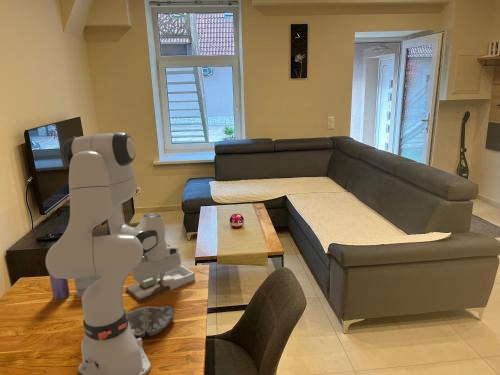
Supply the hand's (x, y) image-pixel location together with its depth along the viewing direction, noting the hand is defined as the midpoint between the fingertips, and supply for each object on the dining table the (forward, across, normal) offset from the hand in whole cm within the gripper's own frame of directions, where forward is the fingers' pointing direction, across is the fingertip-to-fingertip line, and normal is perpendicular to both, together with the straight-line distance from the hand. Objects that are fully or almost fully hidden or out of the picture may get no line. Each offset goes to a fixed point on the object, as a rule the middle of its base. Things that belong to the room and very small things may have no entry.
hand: (158, 283), depth 153 cm
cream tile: (+1, +4, 0) cm, 4 cm away
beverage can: (+3, -31, +23) cm, 39 cm away
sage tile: (+1, -2, +5) cm, 6 cm away
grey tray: (+3, +9, +2) cm, 10 cm away
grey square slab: (+3, -4, +3) cm, 5 cm away
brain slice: (+3, -16, -19) cm, 25 cm away
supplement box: (+3, -16, +19) cm, 25 cm away
